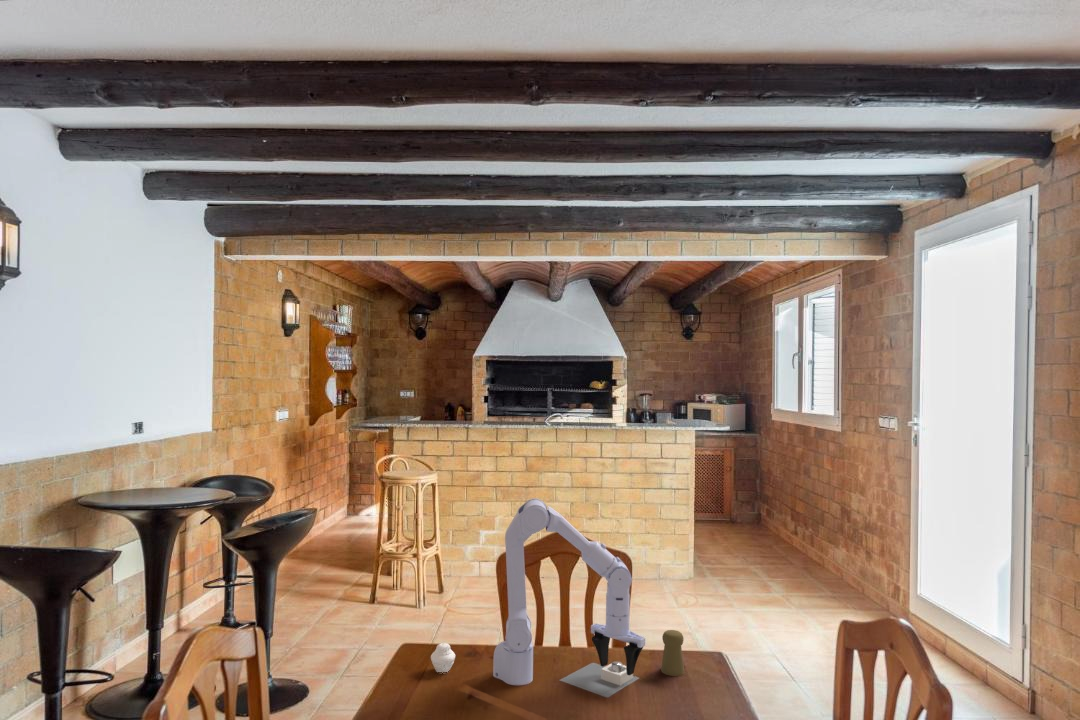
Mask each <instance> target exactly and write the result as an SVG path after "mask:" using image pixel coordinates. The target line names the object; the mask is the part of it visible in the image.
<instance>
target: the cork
mask: <svg viewBox="0 0 1080 720" xmlns="http://www.w3.org/2000/svg"><path fill="white" fill-rule="evenodd" d="M684 640H685V639H684V635H683V634H682V632H681V631H679V630H677V629H676V630H675V629H669V630H668V629H667V630H665V631H664V632H663V634H662V642H663V644H664V645H663V647H664V648H663V652H662V653H663V655H662V659H661V660H662V661H661V668H660V671H661V673H662V674H664V675H667V676H671V677H681V676H683V675H684V674H685V666H684V657H683V650H682V646H683V643H684Z"/></svg>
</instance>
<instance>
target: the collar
mask: <svg viewBox="0 0 1080 720" xmlns="http://www.w3.org/2000/svg"><path fill="white" fill-rule="evenodd" d="M633 676H634V673H633V674H631V675H627V671H626V664H623V666H622V672H621V673H617V672H614V671H612V662H611V663H610V664H607V665H605V667H604V668H602V669H601V679H602V680H605V681H608V682H611V683H614V684H617V685H620V686H621V685H622V684H624V683H626V682H627V681H629V680H631V679H632V678H633Z"/></svg>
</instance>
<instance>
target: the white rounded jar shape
mask: <svg viewBox="0 0 1080 720" xmlns="http://www.w3.org/2000/svg"><path fill="white" fill-rule="evenodd" d="M430 660H431V663H432V665H433V668H434V669H435V672H436V673H438V672H442V673H443V672H447V673H449V672H450V671H449V670H451V668H452V666H453V665H454V663H455V660H456V654H455V652H454V651H453V650H452V649H451V645H450V644H449V643H448V642H447V643H446V642H442V643H438V644H437V646H436V649H435V650H434V651H433V652H432V653H431V655H430ZM448 671H449V672H448ZM442 673H441V674H442ZM443 674H444V673H443Z"/></svg>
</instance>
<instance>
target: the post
mask: <svg viewBox="0 0 1080 720" xmlns="http://www.w3.org/2000/svg"><path fill="white" fill-rule="evenodd" d="M611 663H612V671H614V672H617V673H621V672H622V666H623V665H624V664H623V662H621V661H612V662H611Z"/></svg>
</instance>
